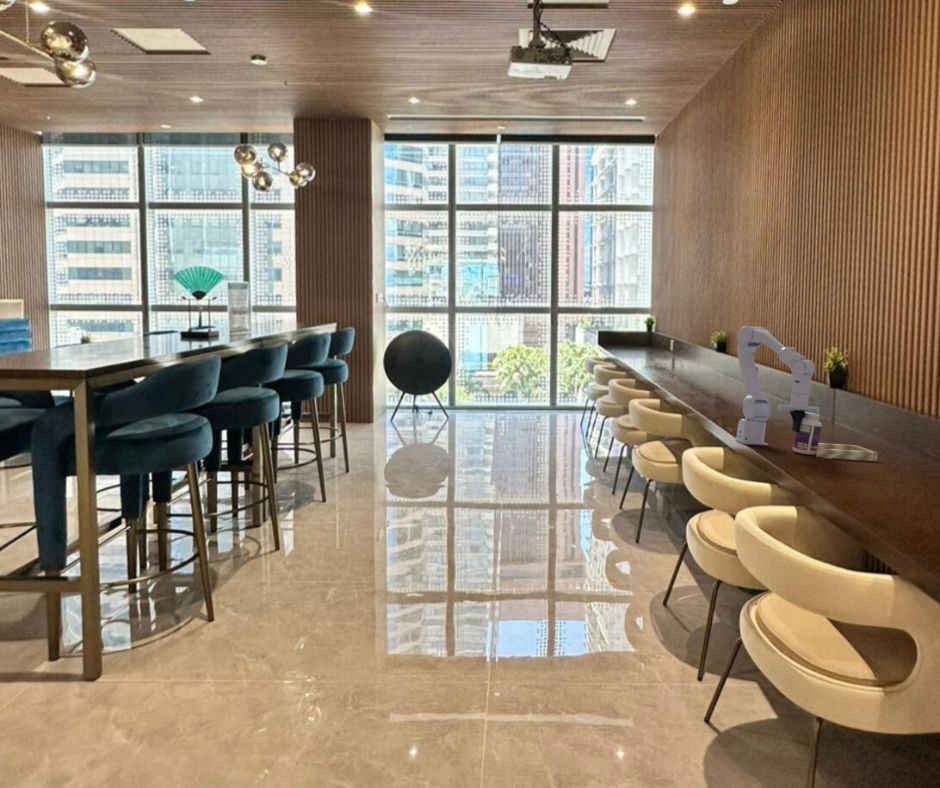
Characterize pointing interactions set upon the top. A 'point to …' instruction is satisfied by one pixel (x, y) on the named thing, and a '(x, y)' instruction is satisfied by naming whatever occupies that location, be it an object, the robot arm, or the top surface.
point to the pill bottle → (808, 435)
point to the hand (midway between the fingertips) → (795, 431)
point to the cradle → (845, 452)
